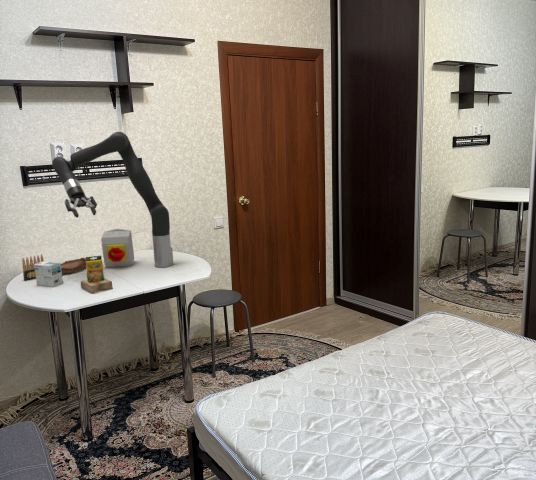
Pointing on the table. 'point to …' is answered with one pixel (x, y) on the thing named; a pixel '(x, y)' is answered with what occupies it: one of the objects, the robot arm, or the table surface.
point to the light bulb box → (48, 273)
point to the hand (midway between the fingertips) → (86, 215)
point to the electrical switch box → (117, 248)
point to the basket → (73, 266)
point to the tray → (96, 285)
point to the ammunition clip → (29, 271)
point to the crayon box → (94, 269)
